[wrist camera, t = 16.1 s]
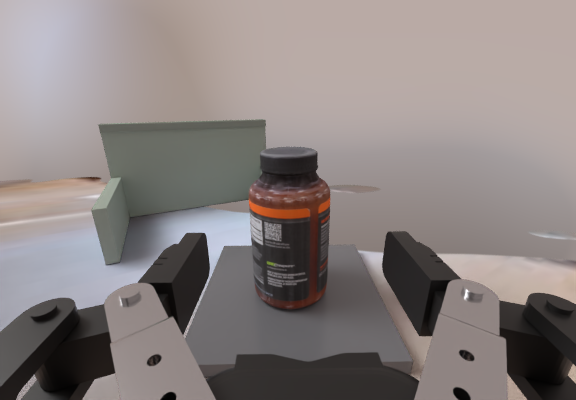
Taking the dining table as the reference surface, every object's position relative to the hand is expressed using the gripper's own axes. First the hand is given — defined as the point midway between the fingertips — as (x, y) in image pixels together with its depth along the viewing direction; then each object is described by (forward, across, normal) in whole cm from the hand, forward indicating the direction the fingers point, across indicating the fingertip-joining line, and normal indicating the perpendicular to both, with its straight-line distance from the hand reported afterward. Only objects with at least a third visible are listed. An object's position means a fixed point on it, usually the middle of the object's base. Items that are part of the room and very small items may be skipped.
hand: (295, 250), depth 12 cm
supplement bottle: (+8, 0, +8) cm, 12 cm away
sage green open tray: (+24, +11, +9) cm, 28 cm away
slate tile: (+8, 0, +9) cm, 12 cm away
